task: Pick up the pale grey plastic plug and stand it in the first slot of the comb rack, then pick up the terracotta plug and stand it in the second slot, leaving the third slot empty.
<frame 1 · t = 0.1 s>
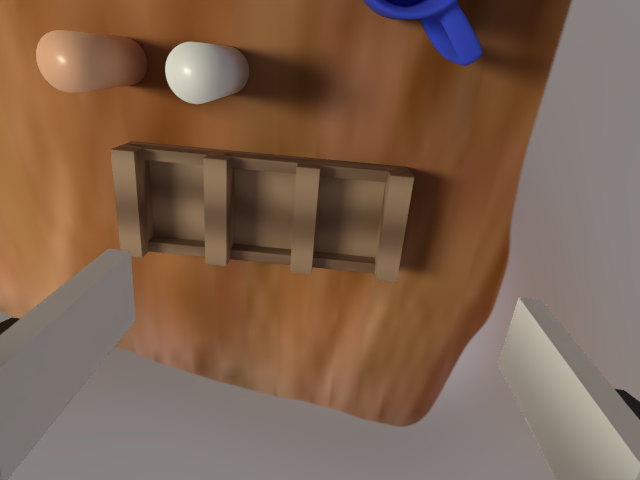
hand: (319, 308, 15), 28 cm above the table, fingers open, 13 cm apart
plug grey: (226, 70, 39), on the table
comb rack: (267, 205, 43), on the table
plug terracotta: (125, 61, 39), on the table
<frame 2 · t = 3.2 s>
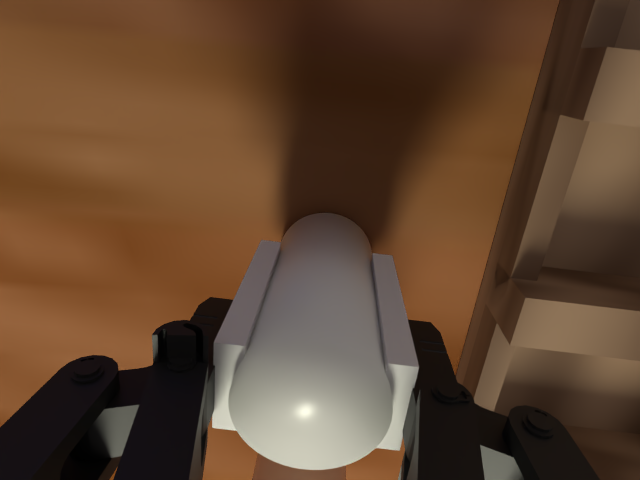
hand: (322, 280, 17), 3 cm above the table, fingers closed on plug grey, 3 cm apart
plug grey: (325, 256, 19), on the table, touching gripper
comb rack: (632, 198, 18), on the table
plug terracotta: (307, 410, 23), on the table
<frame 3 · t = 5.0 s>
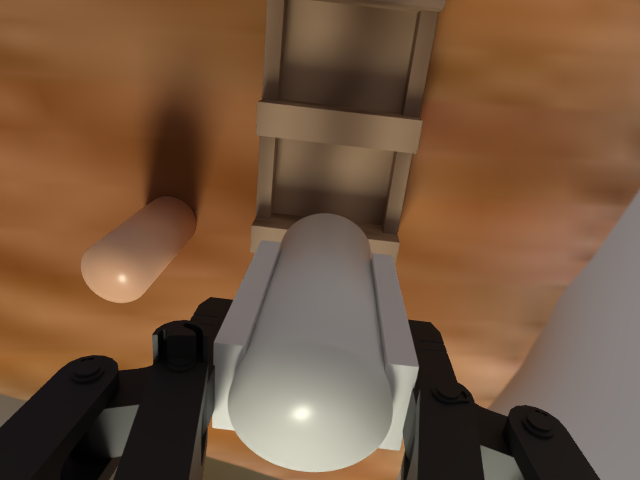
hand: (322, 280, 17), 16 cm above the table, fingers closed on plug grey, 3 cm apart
plug grey: (325, 257, 19), point 14 cm above the table, touching gripper
comb rack: (346, 57, 29), on the table
plug terracotta: (170, 220, 34), on the table
when the fingers open (5 cm above the table, at t = 6.8 s): plug grey drops 2 cm, resting on comb rack.
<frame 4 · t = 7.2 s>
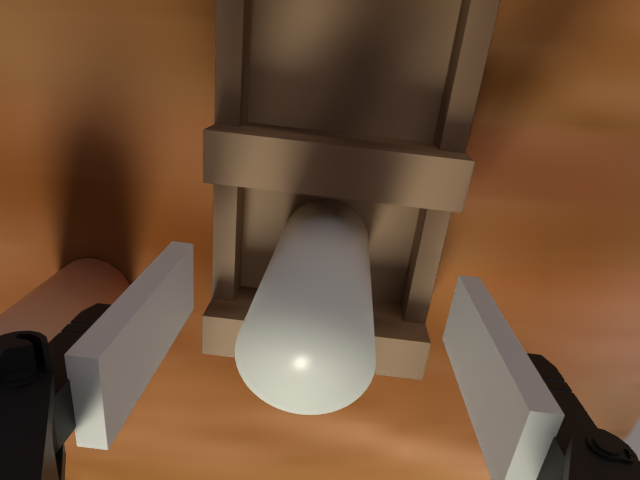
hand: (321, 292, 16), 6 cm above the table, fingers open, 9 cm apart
plug grey: (325, 240, 21), point 1 cm above the table, touching comb rack
comb rack: (348, 57, 19), on the table
plug terracotta: (96, 291, 24), on the table
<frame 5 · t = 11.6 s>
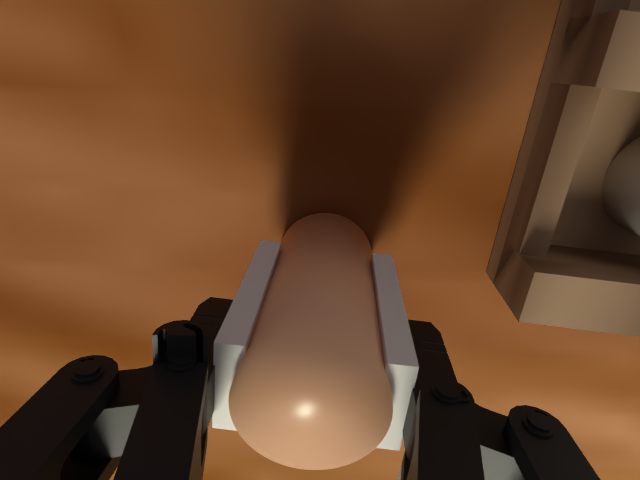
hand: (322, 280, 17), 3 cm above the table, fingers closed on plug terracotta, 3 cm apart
plug terracotta: (325, 256, 19), point 1 cm above the table, touching gripper
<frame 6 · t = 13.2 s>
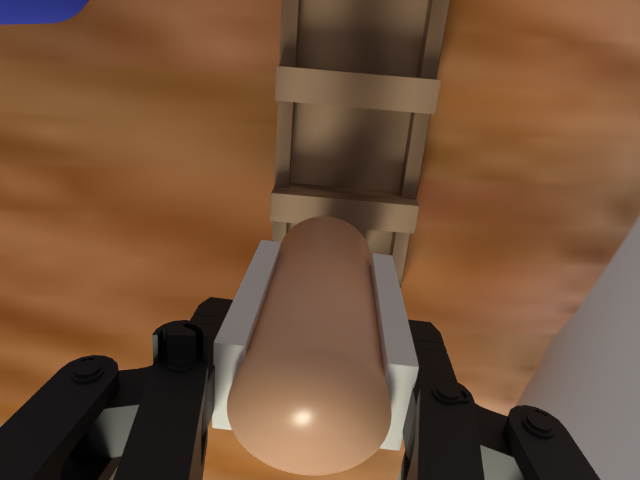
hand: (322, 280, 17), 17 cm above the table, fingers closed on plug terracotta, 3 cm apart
comb rack: (348, 144, 32), on the table
plug terracotta: (324, 260, 19), point 15 cm above the table, touching gripper
when the fingers open (5 cm above the table, at t = 15.4 s): plug terracotta drops 2 cm, resting on comb rack.
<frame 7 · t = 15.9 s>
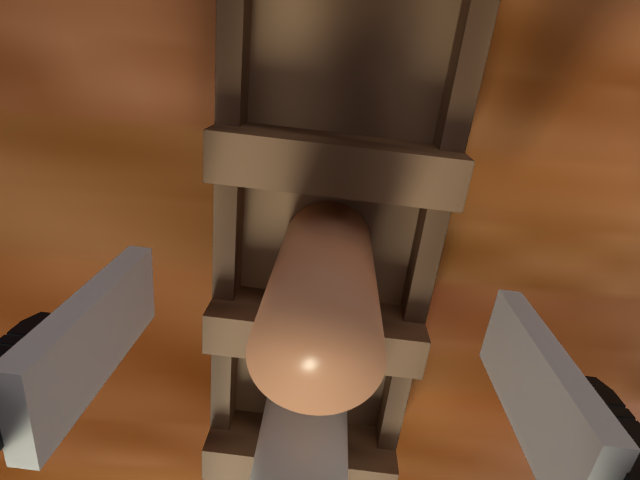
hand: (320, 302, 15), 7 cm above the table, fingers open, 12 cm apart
plug grey: (309, 375, 24), point 1 cm above the table, touching comb rack
comb rack: (327, 232, 22), on the table
plug terracotta: (327, 241, 21), point 1 cm above the table, touching comb rack
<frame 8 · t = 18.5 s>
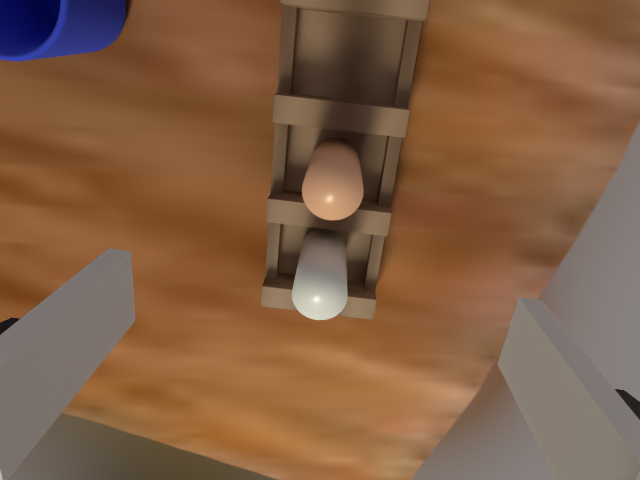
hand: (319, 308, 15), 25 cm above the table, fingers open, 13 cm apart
plug grey: (323, 248, 40), point 1 cm above the table, touching comb rack
comb rack: (335, 158, 38), on the table
plug terracotta: (335, 161, 37), point 1 cm above the table, touching comb rack
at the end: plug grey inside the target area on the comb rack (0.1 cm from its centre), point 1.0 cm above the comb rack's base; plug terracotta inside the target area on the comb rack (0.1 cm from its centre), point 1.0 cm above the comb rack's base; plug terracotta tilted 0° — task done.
